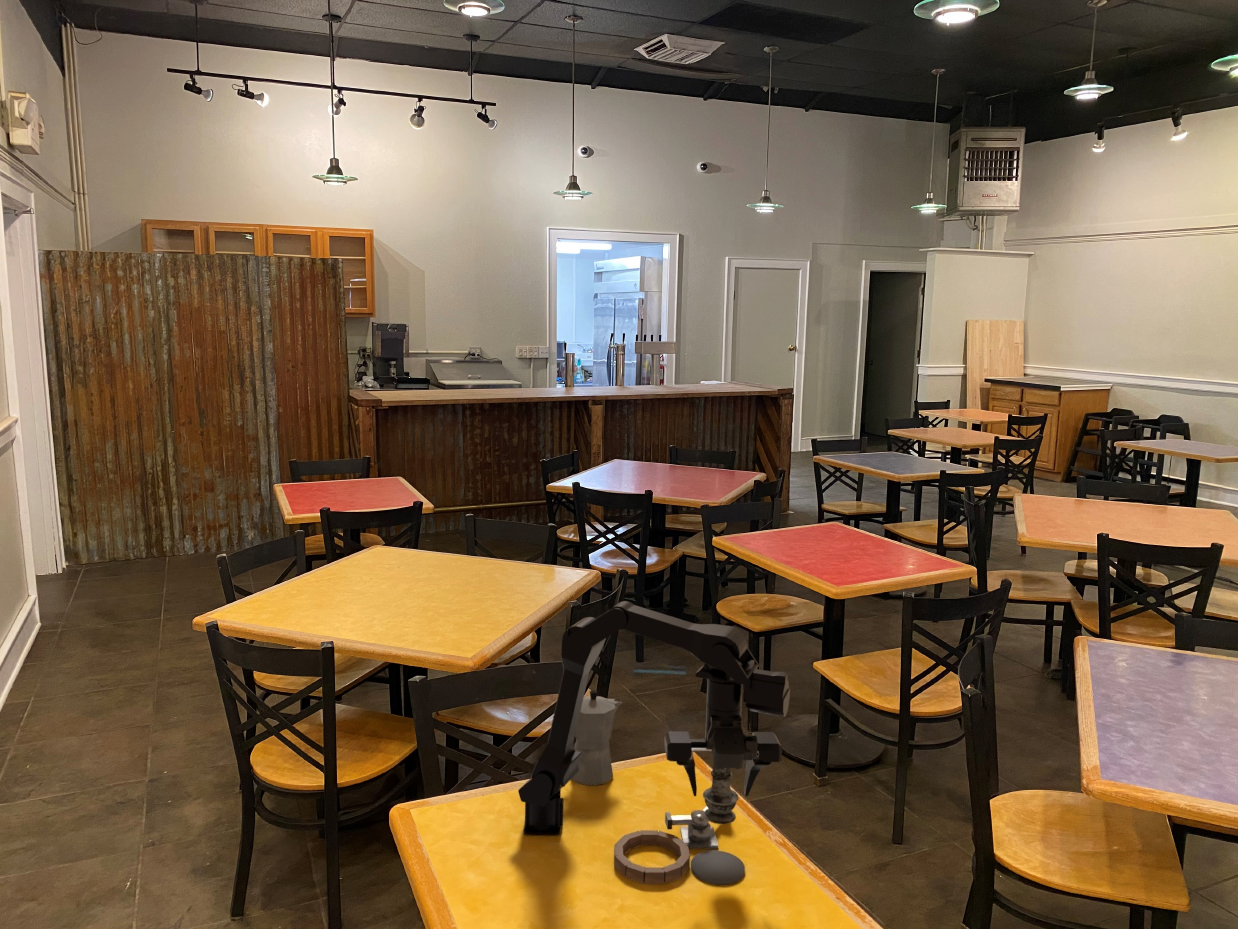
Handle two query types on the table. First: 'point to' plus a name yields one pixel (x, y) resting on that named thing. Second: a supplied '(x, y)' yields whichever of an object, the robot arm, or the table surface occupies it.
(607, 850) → the table surface
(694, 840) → the pivot block
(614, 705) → the coffeepot
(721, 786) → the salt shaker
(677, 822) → the clamp
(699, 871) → the pad
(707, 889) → the table surface
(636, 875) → the socket ring
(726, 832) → the table surface
